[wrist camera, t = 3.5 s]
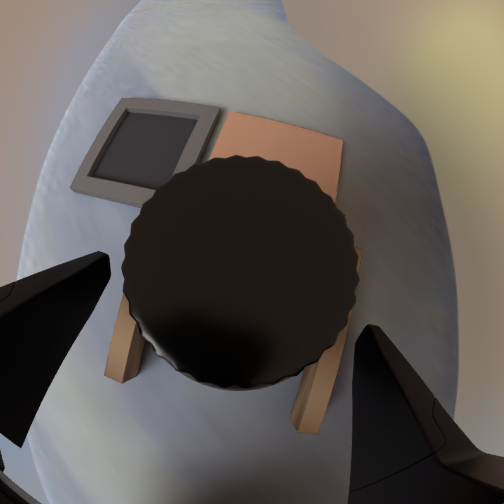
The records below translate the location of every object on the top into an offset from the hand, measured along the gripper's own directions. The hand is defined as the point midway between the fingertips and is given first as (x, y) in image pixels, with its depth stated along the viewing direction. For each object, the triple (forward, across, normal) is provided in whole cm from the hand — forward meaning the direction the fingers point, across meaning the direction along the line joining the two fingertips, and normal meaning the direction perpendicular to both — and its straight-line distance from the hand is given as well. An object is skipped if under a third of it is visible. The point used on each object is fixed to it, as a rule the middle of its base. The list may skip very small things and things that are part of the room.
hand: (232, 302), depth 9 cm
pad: (+12, 0, -1) cm, 13 cm away
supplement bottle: (+6, 0, +6) cm, 8 cm away
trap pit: (+13, +10, -1) cm, 16 cm away
